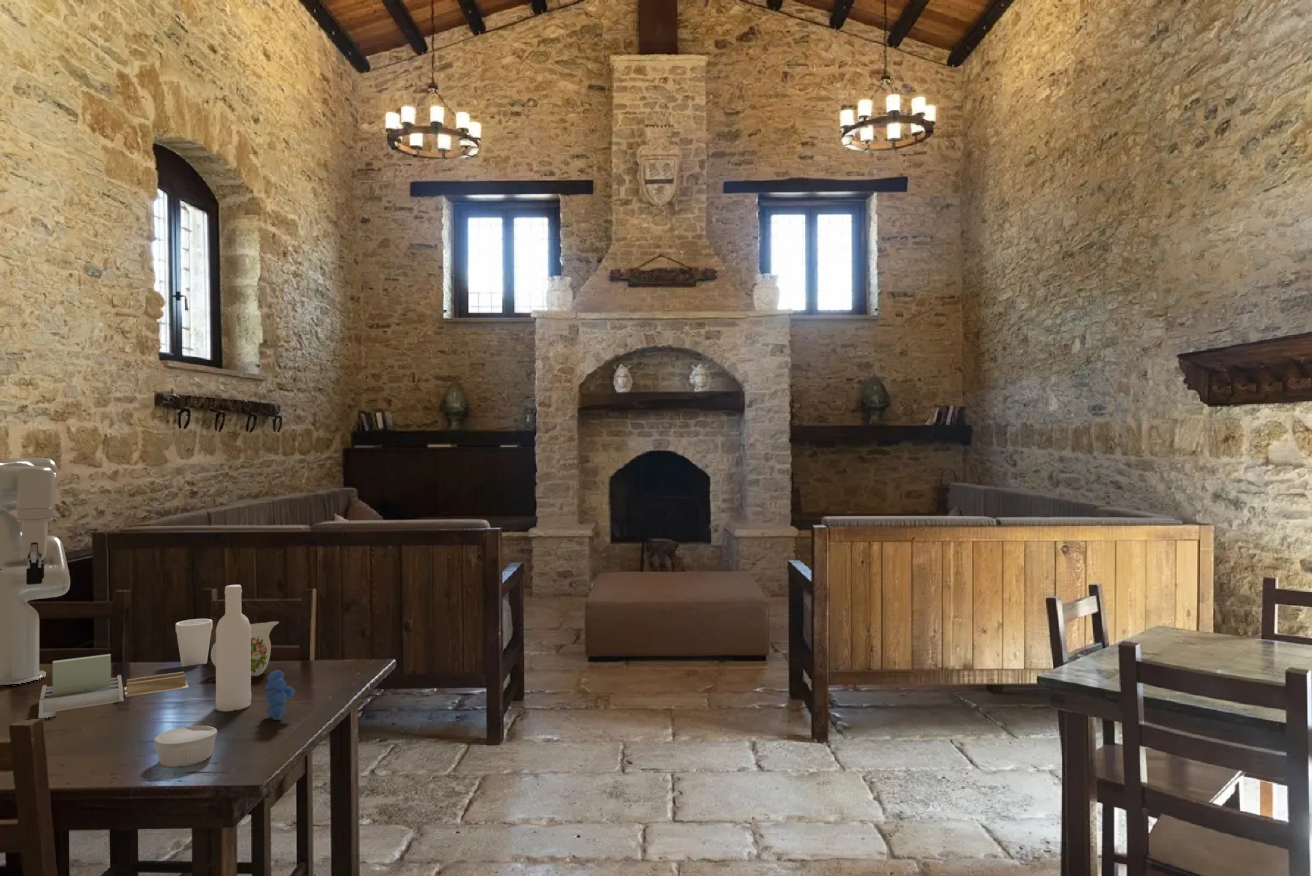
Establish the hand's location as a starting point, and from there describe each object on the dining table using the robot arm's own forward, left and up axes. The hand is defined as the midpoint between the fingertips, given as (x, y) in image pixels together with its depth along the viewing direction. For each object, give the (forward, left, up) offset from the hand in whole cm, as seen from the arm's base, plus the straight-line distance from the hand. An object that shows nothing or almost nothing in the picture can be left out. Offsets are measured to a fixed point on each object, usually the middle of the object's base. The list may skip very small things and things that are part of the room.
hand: (35, 581), depth 213 cm
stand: (+12, +26, -30) cm, 42 cm away
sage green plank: (+12, +10, -29) cm, 33 cm away
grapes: (+54, +49, -31) cm, 79 cm away
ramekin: (+70, +28, -31) cm, 81 cm away
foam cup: (-13, +37, -31) cm, 50 cm away
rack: (+12, +10, -30) cm, 34 cm away
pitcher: (+7, +48, -31) cm, 57 cm away
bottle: (+37, +41, -31) cm, 63 cm away
